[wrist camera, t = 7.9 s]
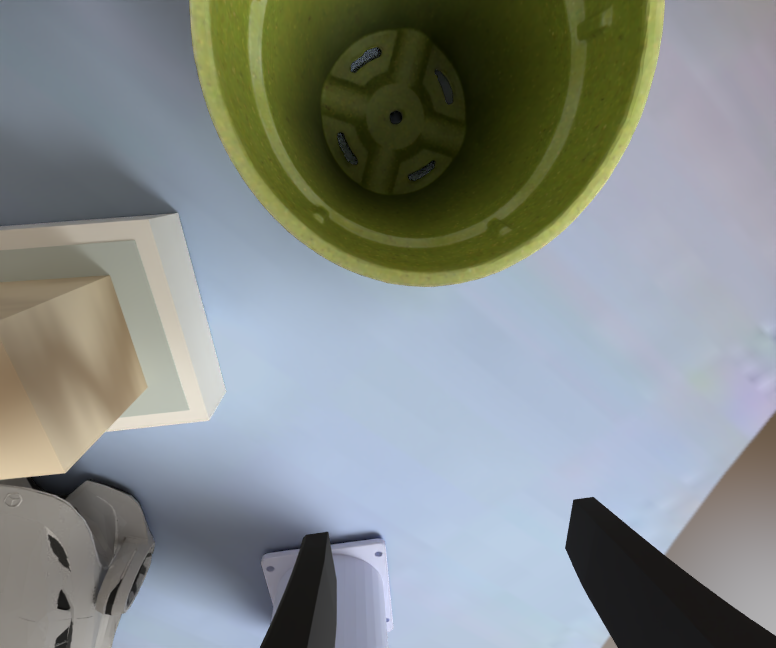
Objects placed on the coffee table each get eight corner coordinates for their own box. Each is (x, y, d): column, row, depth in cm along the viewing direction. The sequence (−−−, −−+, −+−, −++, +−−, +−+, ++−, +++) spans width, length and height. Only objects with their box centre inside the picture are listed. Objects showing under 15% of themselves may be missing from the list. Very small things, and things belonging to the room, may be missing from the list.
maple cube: (147, 387, 16) (65, 473, 11) (25, 397, 16) (-111, 490, 11) (109, 275, 14) (-8, 323, 9) (-31, 284, 14) (-223, 338, 9)
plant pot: (361, 273, 18) (370, 354, 10) (226, 74, 14) (64, -58, 6) (535, 160, 16) (711, 146, 8) (433, -86, 13) (567, -504, 5)
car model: (-46, 687, 26) (-130, 795, 22) (-55, 417, 19) (-187, 495, 14) (122, 699, 29) (78, 799, 24) (174, 464, 21) (125, 544, 17)
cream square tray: (226, 391, 19) (209, 421, 17) (45, 410, 19) (1, 443, 16) (177, 212, 16) (148, 219, 13) (-45, 229, 15) (-117, 239, 13)
